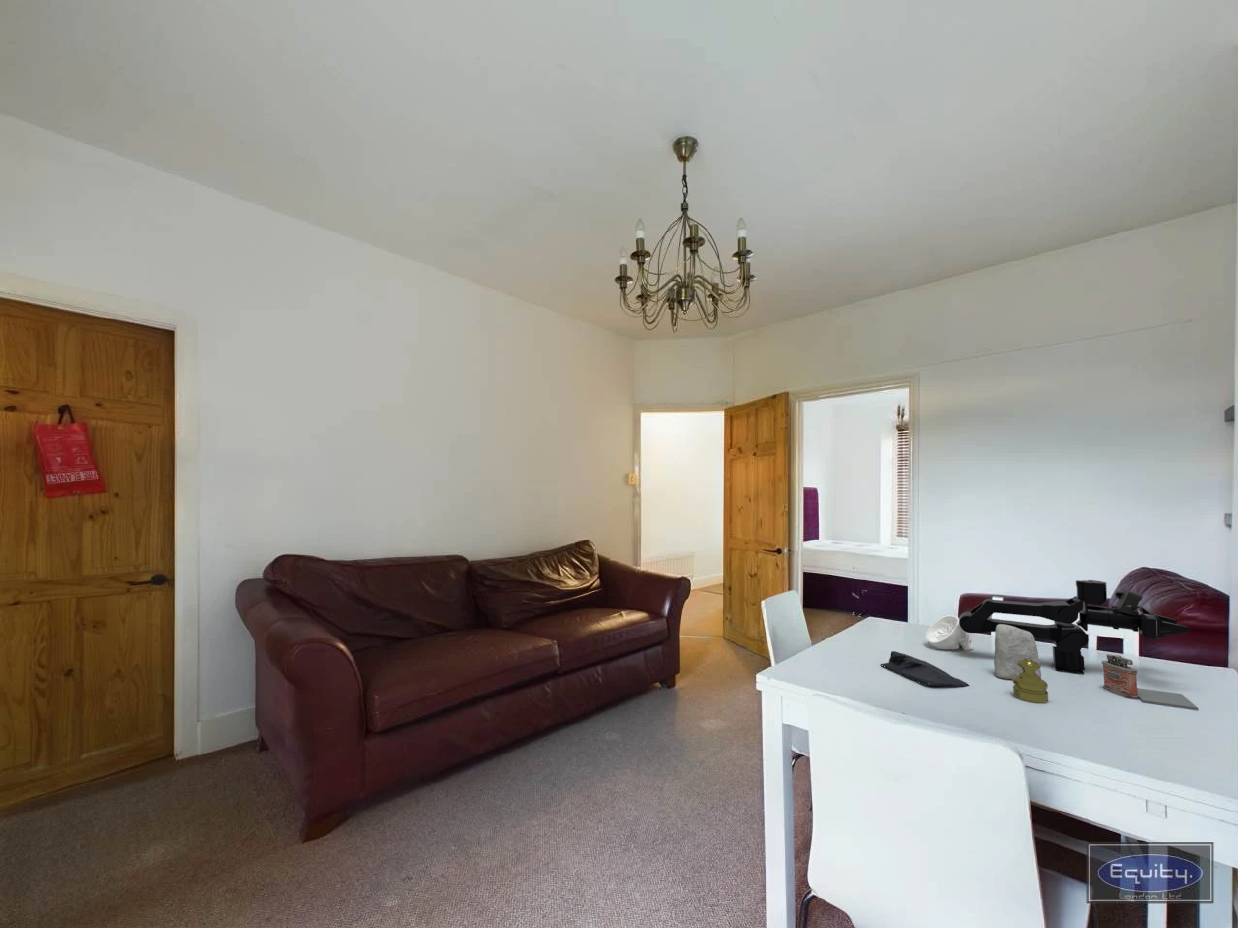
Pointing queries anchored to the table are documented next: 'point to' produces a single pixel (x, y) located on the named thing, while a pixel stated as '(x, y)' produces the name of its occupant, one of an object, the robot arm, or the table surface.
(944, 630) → the skull bowl
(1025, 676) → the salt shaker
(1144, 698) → the mat
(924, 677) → the dark slate chunk
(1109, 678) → the lighter
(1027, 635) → the decorative stone
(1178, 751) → the table surface
